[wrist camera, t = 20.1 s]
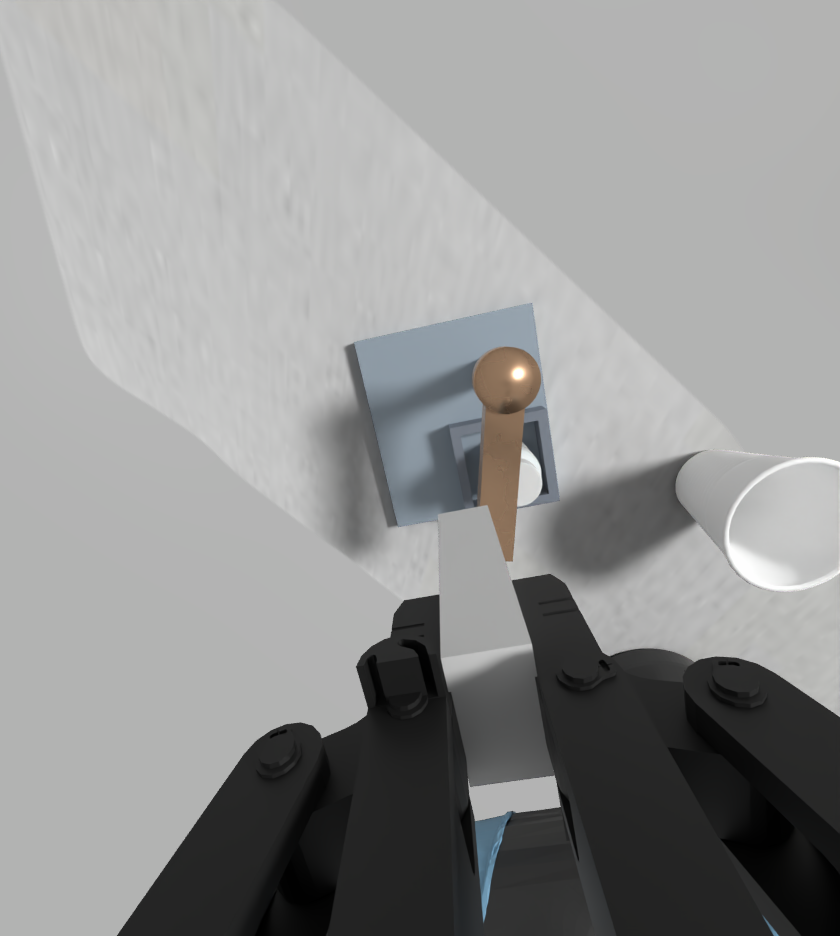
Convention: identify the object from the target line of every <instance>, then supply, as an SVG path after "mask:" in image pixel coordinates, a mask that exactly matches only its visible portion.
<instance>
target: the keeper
mask: <svg viewBox="0 0 840 936" xmlns="http://www.w3.org/2000/svg"><path fill="white" fill-rule="evenodd" d="M540 385H541V373H540V369H539V366H538V364H537V362H536V361H535V359H534V358H533V357H532V356H531V355H530V354H529V353H527V352H526V351H524V350H522V349H519V348H515V347H505V346H503V347H496V348H493V349H491V350H489V351H487V352H485V353H484V354H483V355H482V356H481V357H480V358H479V359H478V361H477V362H476V364H475V366H474V369H473V372H472V386H473V390H474V392H475V394H476V396H477V397H478V398H479V400H480V401H481V402H482V404H483V405H482V423H481V441H480V459H479V477H478V494H477V507H480V506H485V505H488V508H489V511H490V515H491V518H492V521H493V524H494V527H495V530H496V533H497V536H498V540H499V543H500V546H501V549H502V552H503V555H504V558H505V561H513V550H514V537H515V525H516V513H517V500H518V488H519V475H520V463H521V450H522V438H523V425H524V413H525V408H526V407H528V406H529V405H530V404H531V403H532V402H533V401H534V399H535V398H536V396H537V394H538V392H539V389H540Z"/></svg>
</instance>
